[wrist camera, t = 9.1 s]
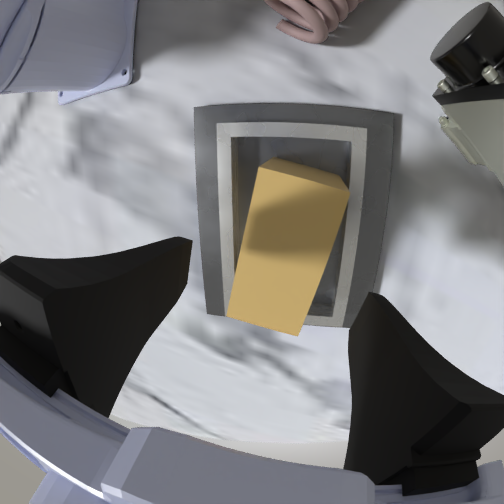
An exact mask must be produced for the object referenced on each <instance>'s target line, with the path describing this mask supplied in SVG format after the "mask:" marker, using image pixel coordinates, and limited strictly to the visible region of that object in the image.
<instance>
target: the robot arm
mask: <svg viewBox="0 0 504 504" xmlns="http://www.w3.org/2000/svg"><path fill="white" fill-rule="evenodd" d="M137 1H138V0H0V94H9V93H21V92H42V91H58V103H59V105H65V104H68V103H70V102H73V101H76V100H79V99H82V98H85V97H88V96H91V95H94V94H97V93H101V92H104V91H107V90H111V89H114V88H118V87H122V86H126V85H128V84H130V83H131V81H132V70H133V46H134V31H135V20H136V10H137ZM126 70H127V74H126V75H125V74H124V73H125V71H126ZM192 242H193V240H189V239H186V238H182V237H173V238H169V239H165V240H161V241H158V242H155V243H151V244H148V245H144V246H141V247H137V248H133V249H129V250H125V251H121V252H117V253H112V254H107V255H100V256H94V257H82V258H69V259H49V258H34V257H25V256H17V255H14V256H12V257H10V258H8V259H7V260H5V261H4V262H2V263H1V264H0V322H1V326H0V433H1V434H2V435H3V436H4V437H5V438H6V439H7V440H8V441H9V442H10V443H11V444H12V445H13V446H14V447H16V448H17V449H18V450H19V451H20V452H21V453H22V454H24V455H25V456H26V457H27V458H28V459H29V460H30V461H32V462H33V463H34V464H36V465H37V466H38V467H39V468H40V469H42V470H43V471H44V472H45V473H47V474H46V476H45V477H44V479H43V480H42V482H41V484H40V485H39V487H38V489H37V490H36V492H35V494H34V495H33V497H32V498H31V500H30V502H29V503H28V504H504V468H503V464H502V460H497V461H494V462H489V463H485V464H483V465H481V466H479V467H477V464H476V460H478V459H480V457H481V454H480V448H482V447H483V446H484V445H485V444H486V443H488V442H489V441H490V440H491V439H492V438H494V437H495V436H496V435H497V434H498V433H499V432H500V431H501V430H502V429H503V428H504V395H502V394H500V393H498V392H496V391H494V390H492V389H490V388H488V387H486V386H484V385H482V384H481V383H479V382H478V381H476V380H474V379H473V378H471V377H469V376H468V375H466V374H465V373H463V372H462V371H461V370H459V369H458V368H457V367H455V366H454V365H453V364H451V363H450V362H449V361H448V360H446V359H445V358H444V357H443V356H442V355H441V354H439V353H438V352H437V351H436V350H435V349H434V348H433V347H432V346H431V345H429V344H428V343H427V342H426V341H425V339H424V338H423V337H422V336H421V335H420V334H419V333H418V332H417V331H416V330H415V329H414V328H413V327H412V326H411V325H410V324H409V323H408V321H407V320H406V319H405V318H404V317H403V316H402V315H401V314H400V313H399V311H398V310H397V309H396V308H395V307H394V306H393V305H392V304H391V303H390V302H389V301H388V300H387V299H386V298H385V297H384V296H382V295H379V294H376V293H372V292H368V295H367V297H366V299H365V301H364V303H363V305H362V307H361V309H360V311H359V313H358V315H357V317H356V318H355V320H354V322H353V324H352V326H351V328H350V330H349V341H348V356H349V368H350V379H351V392H352V412H351V425H350V433H349V441H348V448H347V453H346V459H345V464H344V469H339V468H328V467H320V466H312V465H305V464H298V463H292V462H286V461H281V460H275V459H271V458H266V457H262V456H257V455H253V454H249V453H245V452H241V451H237V450H234V449H230V448H226V447H223V446H219V445H216V444H213V443H210V442H207V441H203V440H201V439H197V438H194V437H192V436H189V435H185V434H181V433H178V432H174V431H170V430H167V429H163V428H160V427H137V428H131V430H130V429H128V428H126V427H124V426H122V425H120V424H118V423H116V422H114V421H112V420H110V419H109V415H110V413H111V411H112V408H113V406H114V403H115V401H116V399H117V397H118V395H119V392H120V390H121V388H122V386H123V384H124V382H125V380H126V378H127V376H128V374H129V372H130V370H131V368H132V366H133V365H134V363H135V361H136V359H137V357H138V356H139V354H140V352H141V350H142V349H143V347H144V345H145V344H146V342H147V341H148V339H149V338H150V337H151V335H152V334H153V333H154V331H155V330H156V329H157V327H158V326H159V325H160V324H161V322H162V321H163V320H164V318H165V317H166V316H167V314H168V313H169V312H170V311H171V309H172V308H173V307H174V305H175V304H176V303H177V301H178V299H179V298H180V296H181V294H182V292H183V290H184V289H185V287H186V285H187V281H188V273H189V265H190V257H191V250H192Z"/></svg>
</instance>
